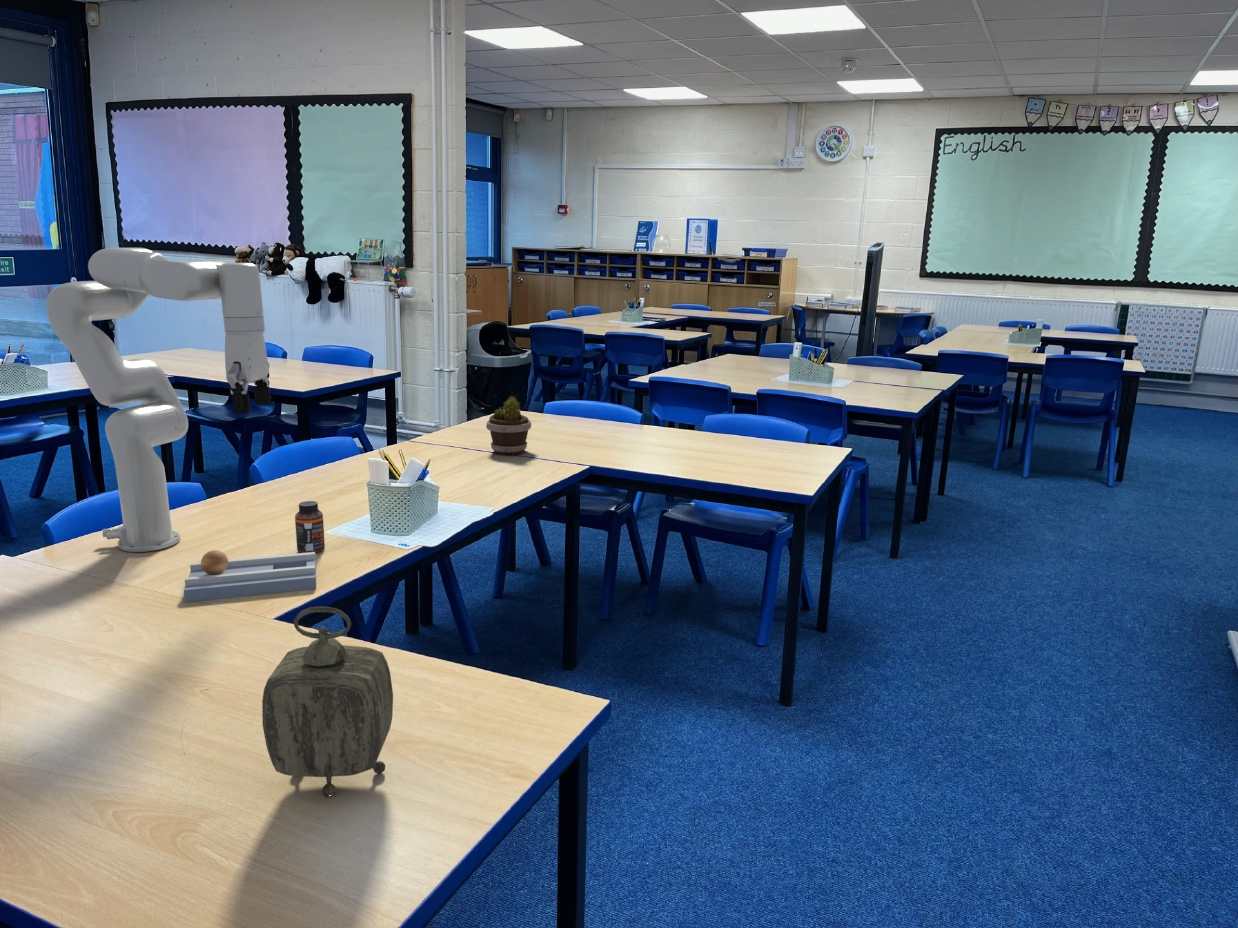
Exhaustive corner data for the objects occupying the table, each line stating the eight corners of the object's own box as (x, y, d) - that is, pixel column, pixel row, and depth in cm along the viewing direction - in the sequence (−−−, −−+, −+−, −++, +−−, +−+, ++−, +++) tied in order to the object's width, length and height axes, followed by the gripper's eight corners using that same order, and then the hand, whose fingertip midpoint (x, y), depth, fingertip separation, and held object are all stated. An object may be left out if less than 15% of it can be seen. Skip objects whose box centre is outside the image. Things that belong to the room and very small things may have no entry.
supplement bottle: (316, 556, 194) (312, 508, 191) (292, 554, 195) (288, 506, 192) (330, 547, 199) (327, 500, 196) (306, 545, 200) (302, 498, 197)
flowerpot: (482, 448, 295) (481, 389, 290) (527, 445, 300) (527, 388, 294) (489, 458, 282) (488, 397, 277) (536, 455, 286) (536, 395, 281)
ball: (200, 580, 173) (198, 556, 172) (203, 571, 178) (201, 547, 176) (228, 577, 174) (225, 554, 173) (230, 568, 179) (228, 545, 178)
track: (185, 602, 169) (182, 584, 168) (194, 575, 181) (192, 559, 181) (316, 588, 176) (314, 571, 175) (316, 564, 189) (314, 548, 188)
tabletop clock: (396, 765, 118) (388, 593, 112) (381, 807, 110) (370, 624, 103) (288, 765, 118) (273, 593, 111) (264, 808, 109) (246, 623, 103)
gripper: (244, 321, 185) (253, 401, 189) (205, 329, 168) (215, 417, 172) (280, 322, 184) (287, 401, 189) (243, 329, 168) (252, 417, 172)
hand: (252, 409), depth 180 cm, fingers open, 9 cm apart
